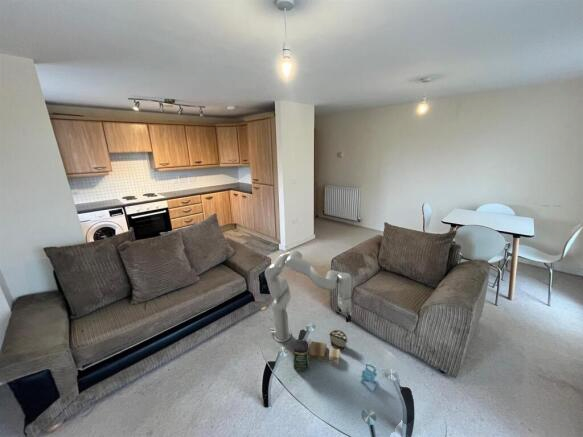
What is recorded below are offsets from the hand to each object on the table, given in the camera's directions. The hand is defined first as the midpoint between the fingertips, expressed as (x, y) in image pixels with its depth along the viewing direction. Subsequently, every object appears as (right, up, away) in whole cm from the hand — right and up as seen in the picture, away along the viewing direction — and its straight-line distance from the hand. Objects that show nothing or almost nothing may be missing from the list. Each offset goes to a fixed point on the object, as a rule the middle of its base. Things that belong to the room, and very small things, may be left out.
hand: (344, 316), depth 149 cm
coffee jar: (-27, -31, 0) cm, 41 cm away
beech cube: (-6, -29, +3) cm, 29 cm away
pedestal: (-16, -28, +8) cm, 33 cm away
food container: (-1, -25, +13) cm, 28 cm away
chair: (+10, -33, -13) cm, 37 cm away
